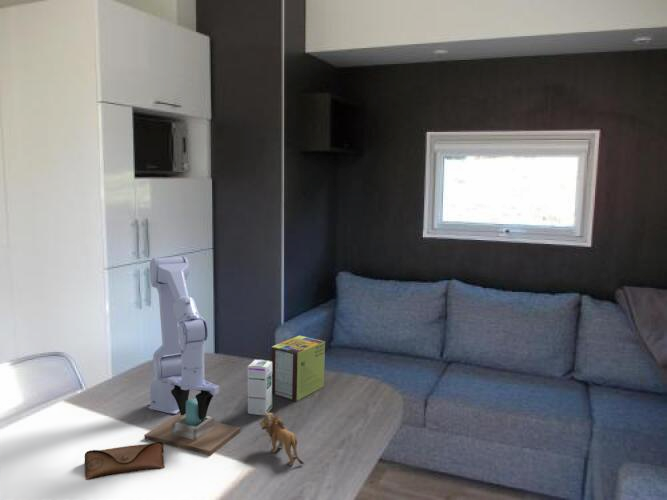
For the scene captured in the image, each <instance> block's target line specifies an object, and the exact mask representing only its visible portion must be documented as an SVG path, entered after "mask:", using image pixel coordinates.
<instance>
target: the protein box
mask: <svg viewBox="0 0 667 500" xmlns="http://www.w3.org/2000/svg"><path fill="white" fill-rule="evenodd" d="M270 349H271V350H270V355H271V357H270V361H272V396H273V395H274V396H277V397H280V398H283V399H288V400H291V401H294V402H298V401H300V400H302V399H304V398H305V397H307V396H309V395H310V394H313V393H315V392H316V391H318V390H320V389H322V388H324V386H325V362H326V361H325V360H326V359H325V354H326V352H325V350H326V340H322V339H317V338H313V337H308V336H303V335H297V336H295V337H293V338H290V339H287V340H285V341H282V342H280V343H277V344H275V345H273V346H271V347H270Z"/></svg>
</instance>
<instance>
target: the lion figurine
mask: <svg viewBox="0 0 667 500" xmlns="http://www.w3.org/2000/svg"><path fill="white" fill-rule="evenodd" d="M265 415H266V416H265ZM265 415H264V416H265V417H264V418H262V419H263V420H262V421H261V422H259V424H258V425H259V426H260V428H261V430H265V431H266V433H267V434H268V436H269V438H270V439H271V445H272V448H271V449H270V452H271V453H276V452H277V448H278V449H283V447H284V450H285V452H286V455H287V457H288V459H289V461H288V463H287V464H288V466H293V465H294V458H296V461H298V463H299V464H301V465H304V463H305V462H304V461H302V460H301V459H300V457H299V456H298V453H297V445H298V439H297V436H296V435H295V433H294V432H292V431H289V430H288V429H287V428H285V425H284V421H282V419H281V418H280V417H279V416H278V415H276V414H275V413H273V412H268V413H266V414H265ZM277 441H278V442H279V443H278V446H277ZM291 448H292V449H293V454H292V452H291Z"/></svg>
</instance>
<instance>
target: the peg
mask: <svg viewBox="0 0 667 500" xmlns="http://www.w3.org/2000/svg"><path fill="white" fill-rule="evenodd" d="M185 415H186V422H185V424H186V425H190V426H195V427H196V426H198V425H199V424H201V420H200V419H199V410H198V403H197V399H196V398H190V399H189V398H188V400H187V401H186V414H185Z"/></svg>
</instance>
